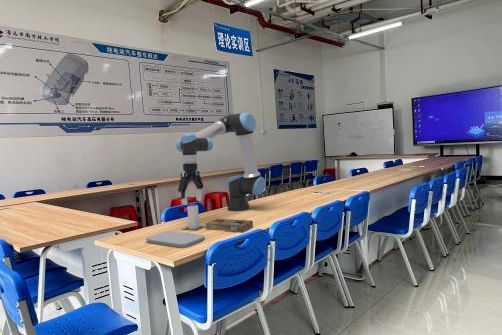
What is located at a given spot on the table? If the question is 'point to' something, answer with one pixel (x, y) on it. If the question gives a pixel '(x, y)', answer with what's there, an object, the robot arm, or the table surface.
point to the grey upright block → (193, 216)
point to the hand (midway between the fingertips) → (192, 202)
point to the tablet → (175, 239)
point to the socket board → (229, 225)
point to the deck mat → (193, 229)
